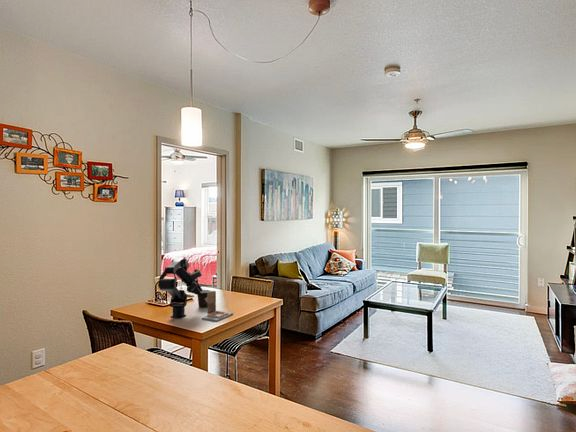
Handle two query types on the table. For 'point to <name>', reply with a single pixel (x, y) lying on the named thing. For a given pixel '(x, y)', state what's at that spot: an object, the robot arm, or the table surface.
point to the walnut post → (211, 301)
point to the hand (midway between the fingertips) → (201, 293)
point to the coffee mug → (203, 299)
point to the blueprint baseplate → (217, 316)
